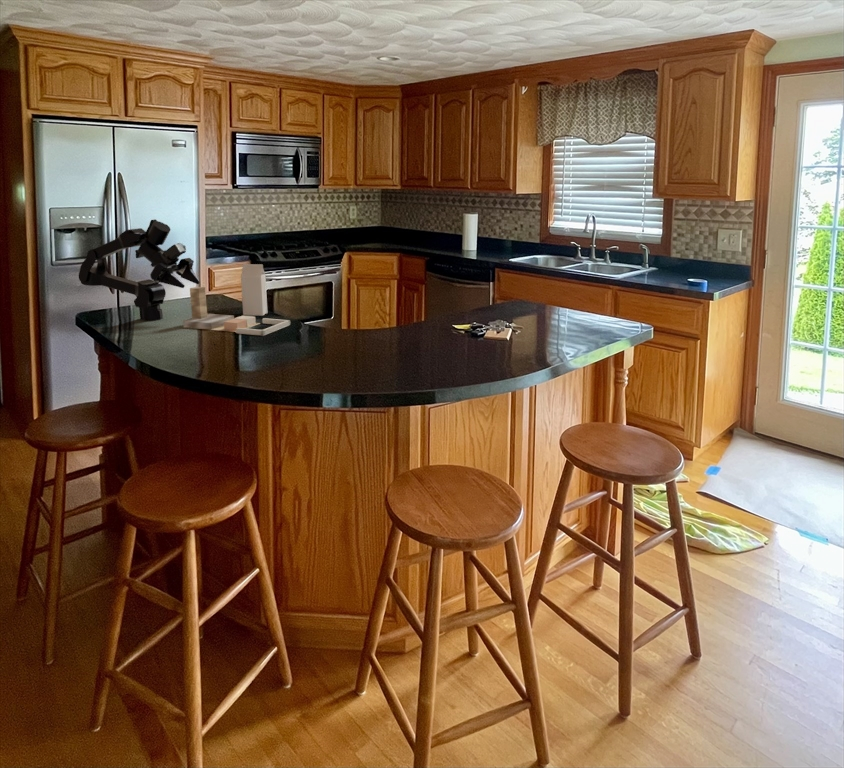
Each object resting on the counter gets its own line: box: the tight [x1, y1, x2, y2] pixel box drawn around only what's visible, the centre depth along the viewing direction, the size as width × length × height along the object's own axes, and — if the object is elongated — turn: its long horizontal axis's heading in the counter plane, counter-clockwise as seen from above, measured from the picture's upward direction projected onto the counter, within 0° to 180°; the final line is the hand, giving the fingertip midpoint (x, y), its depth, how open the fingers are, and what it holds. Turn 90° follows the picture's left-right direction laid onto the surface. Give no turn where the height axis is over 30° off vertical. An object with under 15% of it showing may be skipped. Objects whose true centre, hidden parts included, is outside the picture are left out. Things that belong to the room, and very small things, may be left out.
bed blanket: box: [182, 286, 235, 330], centre depth 250 cm, size 11×13×12 cm
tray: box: [235, 317, 291, 336], centre depth 245 cm, size 10×17×3 cm, turn 160°
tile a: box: [234, 315, 257, 327], centre depth 250 cm, size 5×5×2 cm
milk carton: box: [240, 263, 268, 317], centre depth 267 cm, size 7×7×19 cm
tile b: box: [224, 319, 246, 331], centre depth 245 cm, size 5×5×2 cm
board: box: [186, 322, 261, 333], centre depth 250 cm, size 21×14×2 cm, turn 70°
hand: (191, 284), depth 251 cm, fingers open, 9 cm apart
